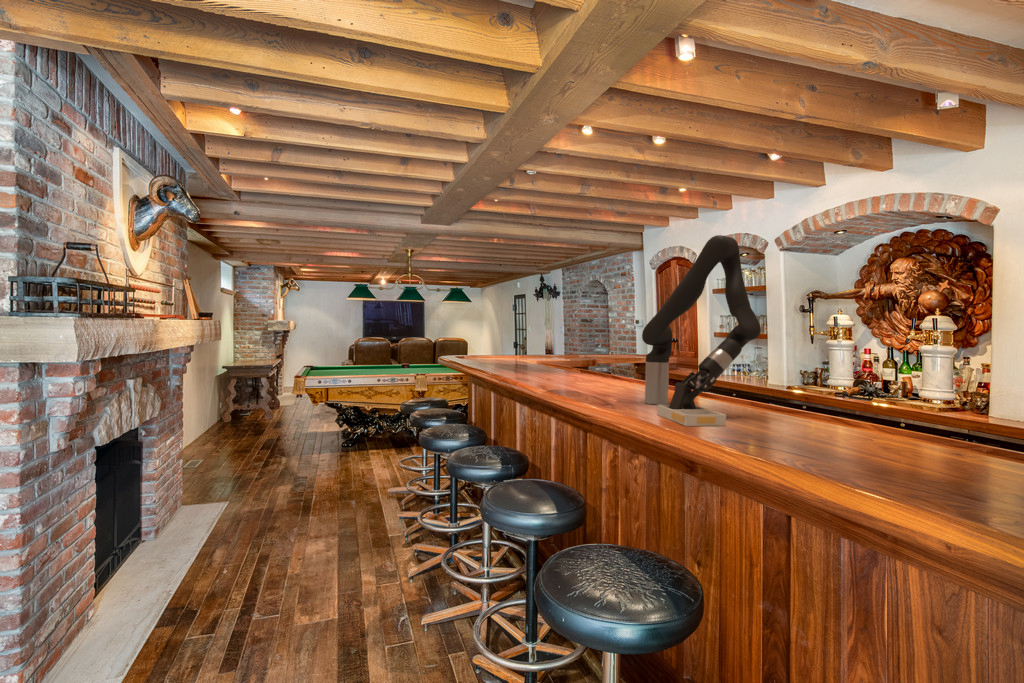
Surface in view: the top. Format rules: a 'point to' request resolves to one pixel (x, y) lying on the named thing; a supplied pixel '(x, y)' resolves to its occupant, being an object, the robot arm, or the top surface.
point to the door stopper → (682, 397)
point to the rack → (692, 416)
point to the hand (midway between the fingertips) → (683, 396)
